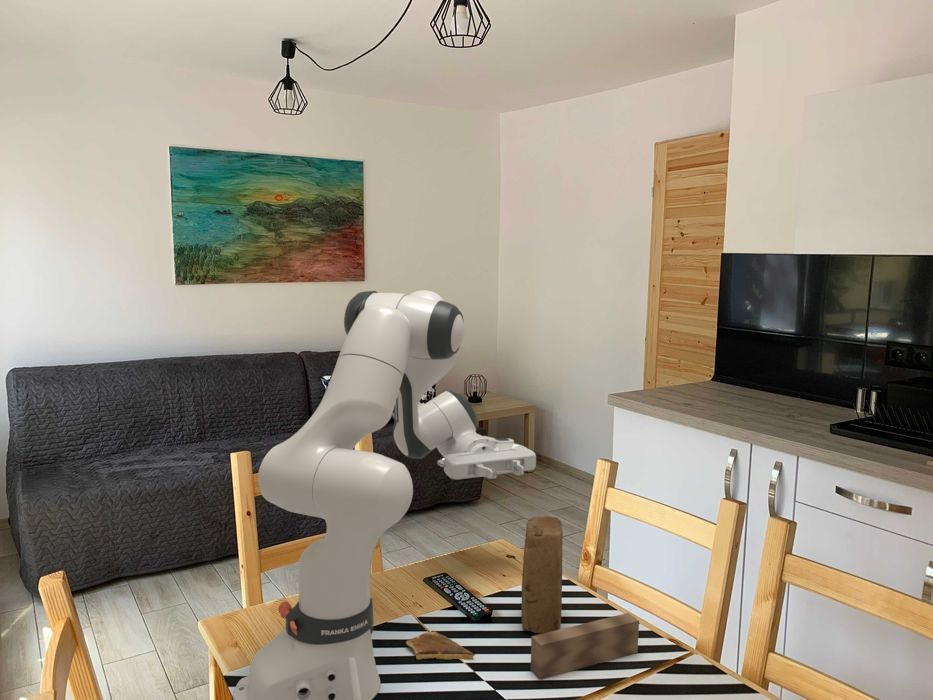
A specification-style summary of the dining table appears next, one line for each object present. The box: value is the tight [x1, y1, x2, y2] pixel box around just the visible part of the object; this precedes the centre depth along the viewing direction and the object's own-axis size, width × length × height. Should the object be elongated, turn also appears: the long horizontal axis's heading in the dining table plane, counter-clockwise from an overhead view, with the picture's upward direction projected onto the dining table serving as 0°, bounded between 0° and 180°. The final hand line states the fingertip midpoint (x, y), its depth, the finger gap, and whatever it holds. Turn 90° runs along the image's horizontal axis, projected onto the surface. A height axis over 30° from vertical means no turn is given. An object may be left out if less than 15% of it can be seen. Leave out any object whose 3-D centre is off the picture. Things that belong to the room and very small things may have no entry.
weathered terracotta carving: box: [521, 516, 564, 634], centre depth 134 cm, size 11×8×20 cm
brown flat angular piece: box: [405, 631, 476, 661], centre depth 123 cm, size 11×8×2 cm
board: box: [530, 612, 640, 680], centre depth 122 cm, size 20×3×6 cm, turn 115°
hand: (507, 473), depth 145 cm, fingers open, 5 cm apart
